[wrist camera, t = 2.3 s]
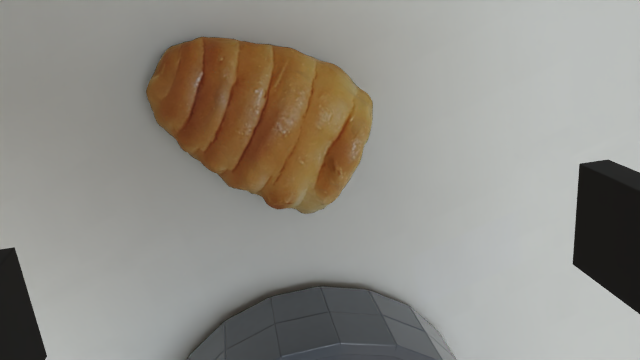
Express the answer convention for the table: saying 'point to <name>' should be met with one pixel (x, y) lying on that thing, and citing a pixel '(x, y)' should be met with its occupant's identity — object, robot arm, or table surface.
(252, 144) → the pastry
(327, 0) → the table surface
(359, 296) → the bowl
